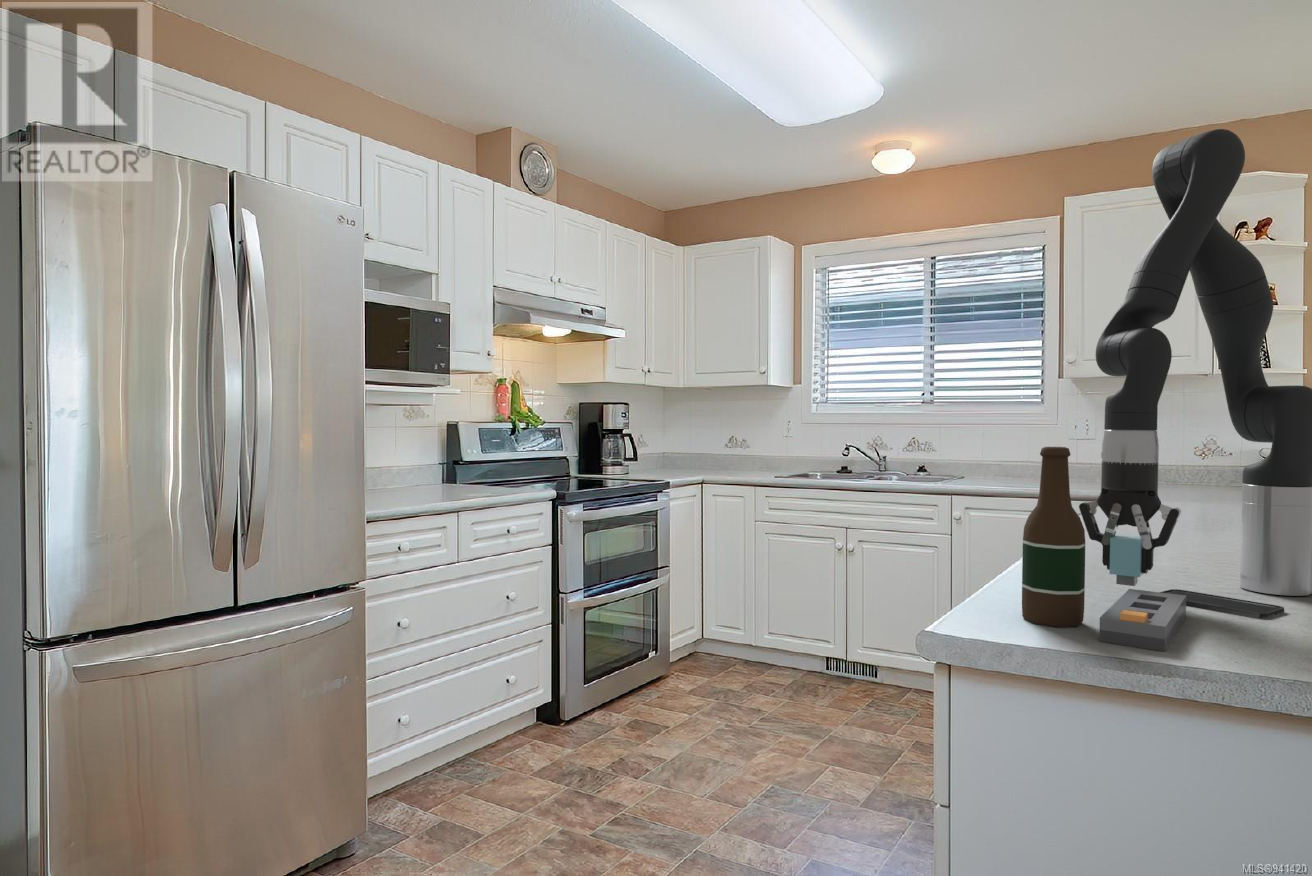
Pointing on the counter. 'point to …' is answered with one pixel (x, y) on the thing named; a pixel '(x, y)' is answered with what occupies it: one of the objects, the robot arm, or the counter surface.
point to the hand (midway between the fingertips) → (1127, 570)
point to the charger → (1126, 559)
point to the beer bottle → (1053, 550)
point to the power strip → (1143, 619)
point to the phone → (1228, 604)
